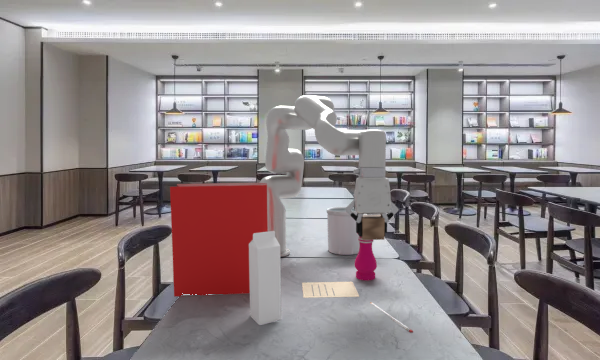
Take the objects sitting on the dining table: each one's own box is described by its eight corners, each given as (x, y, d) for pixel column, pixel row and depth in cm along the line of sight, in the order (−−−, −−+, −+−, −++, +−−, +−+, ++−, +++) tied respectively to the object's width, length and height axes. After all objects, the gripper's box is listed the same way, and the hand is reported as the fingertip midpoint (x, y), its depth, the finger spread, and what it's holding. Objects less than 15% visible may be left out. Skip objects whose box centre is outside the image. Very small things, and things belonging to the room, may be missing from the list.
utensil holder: (327, 245, 164) (327, 205, 163) (362, 246, 162) (362, 206, 161) (325, 255, 150) (325, 211, 148) (363, 256, 148) (363, 212, 146)
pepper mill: (352, 274, 127) (352, 215, 125) (373, 273, 127) (373, 215, 125) (357, 282, 119) (357, 219, 118) (379, 281, 120) (380, 219, 118)
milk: (281, 320, 93) (280, 233, 91) (258, 326, 90) (257, 236, 88) (271, 311, 99) (270, 228, 97) (249, 316, 96) (248, 231, 94)
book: (174, 296, 109) (170, 186, 106) (180, 286, 117) (176, 184, 114) (268, 292, 111) (266, 185, 109) (268, 282, 119) (266, 182, 116)
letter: (303, 298, 107) (303, 297, 107) (301, 283, 119) (301, 282, 119) (359, 297, 107) (359, 296, 107) (352, 282, 119) (352, 281, 119)
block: (363, 239, 106) (363, 218, 105) (359, 234, 112) (359, 215, 111) (384, 239, 106) (384, 218, 105) (379, 234, 112) (379, 214, 111)
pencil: (410, 333, 87) (410, 331, 87) (367, 303, 104) (367, 300, 104) (413, 333, 87) (413, 330, 87) (369, 302, 104) (369, 300, 104)
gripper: (343, 174, 103) (343, 239, 105) (405, 174, 104) (404, 238, 105) (340, 172, 111) (340, 233, 112) (398, 172, 111) (397, 232, 113)
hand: (371, 234), depth 109 cm, fingers closed on block, 6 cm apart
